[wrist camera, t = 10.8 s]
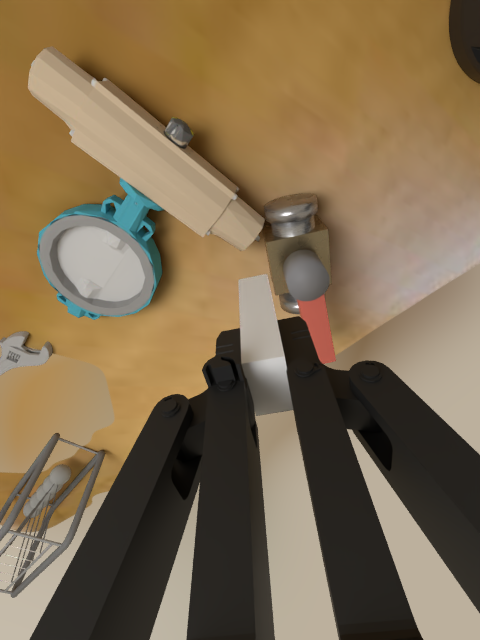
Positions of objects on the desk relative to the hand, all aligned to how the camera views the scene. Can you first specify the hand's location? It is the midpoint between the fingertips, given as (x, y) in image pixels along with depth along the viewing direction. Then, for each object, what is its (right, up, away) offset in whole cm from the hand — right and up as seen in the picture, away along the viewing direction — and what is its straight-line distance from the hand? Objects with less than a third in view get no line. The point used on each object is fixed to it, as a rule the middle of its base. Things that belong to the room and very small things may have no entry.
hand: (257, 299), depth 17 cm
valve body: (+6, +9, +26) cm, 28 cm away
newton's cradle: (-41, -35, +54) cm, 76 cm away
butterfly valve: (-16, +11, +25) cm, 31 cm away
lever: (+8, +1, +23) cm, 24 cm away
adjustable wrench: (-43, -9, +37) cm, 57 cm away
